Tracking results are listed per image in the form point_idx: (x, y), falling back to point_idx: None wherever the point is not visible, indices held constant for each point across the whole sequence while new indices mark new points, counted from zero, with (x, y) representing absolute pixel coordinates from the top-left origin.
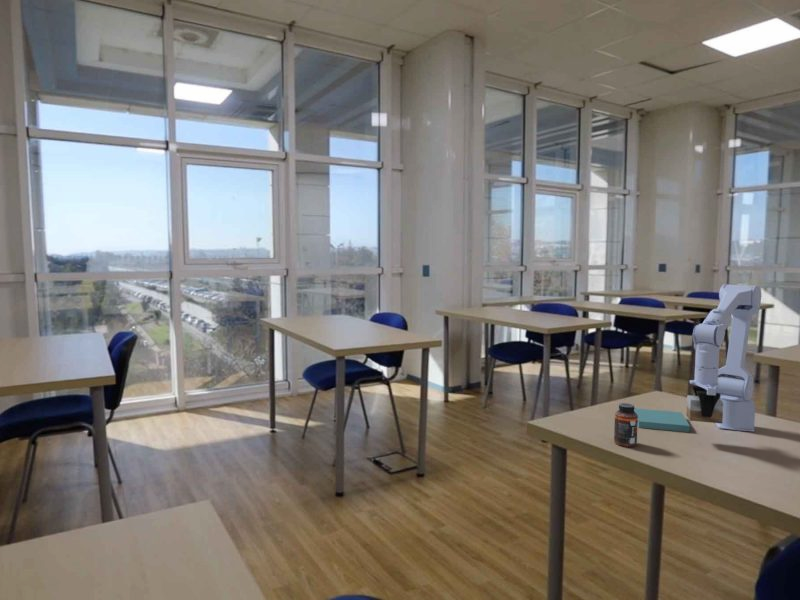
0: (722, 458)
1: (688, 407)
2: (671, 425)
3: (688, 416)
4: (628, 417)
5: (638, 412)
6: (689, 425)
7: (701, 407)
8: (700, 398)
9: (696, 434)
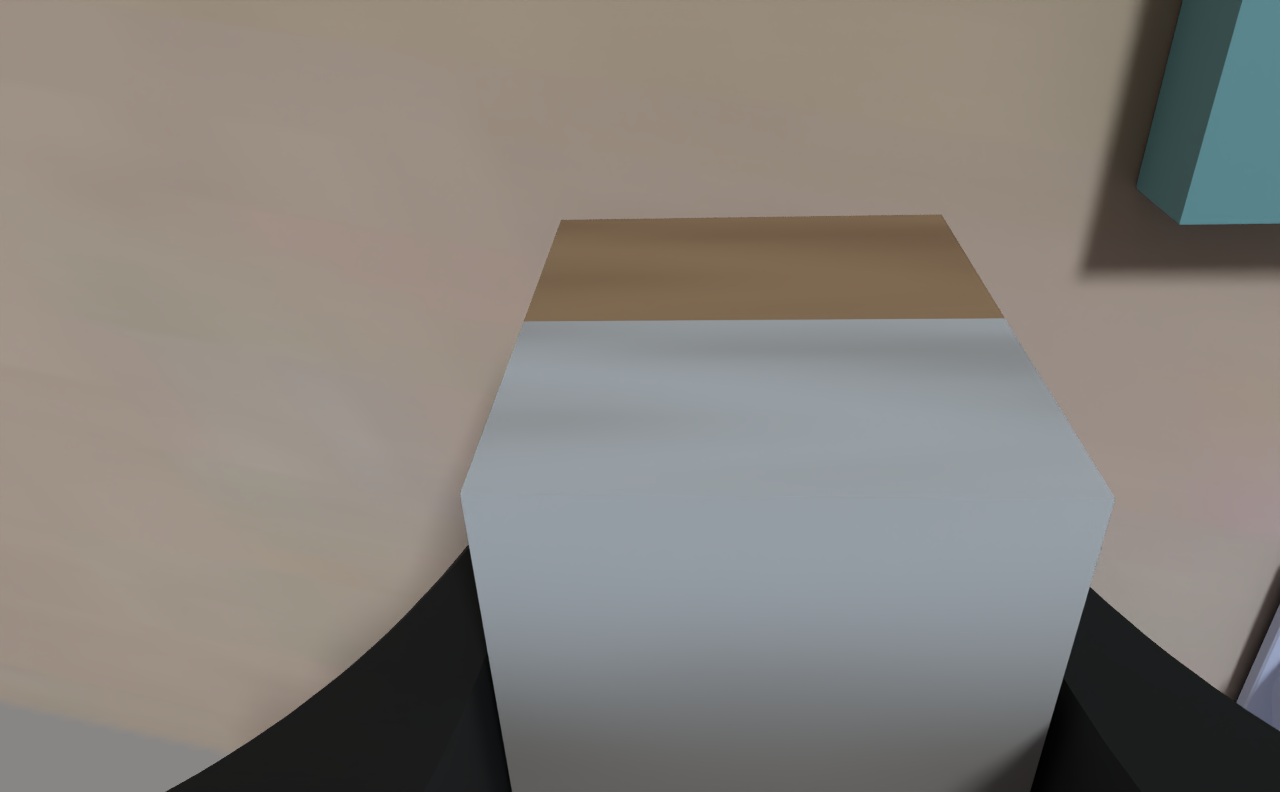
0: (257, 375)
1: (763, 322)
2: None
3: (717, 234)
4: None
5: None
6: (1202, 222)
7: (434, 585)
8: (204, 772)
9: (1056, 262)
